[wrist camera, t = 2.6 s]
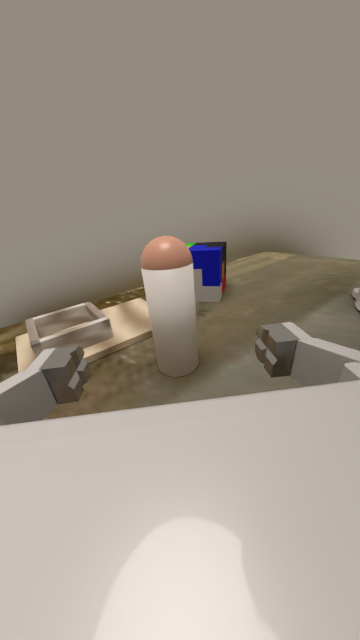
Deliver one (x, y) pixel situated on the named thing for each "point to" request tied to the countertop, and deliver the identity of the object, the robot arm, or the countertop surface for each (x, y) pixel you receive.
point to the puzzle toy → (209, 270)
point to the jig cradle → (85, 330)
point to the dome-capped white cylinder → (171, 304)
